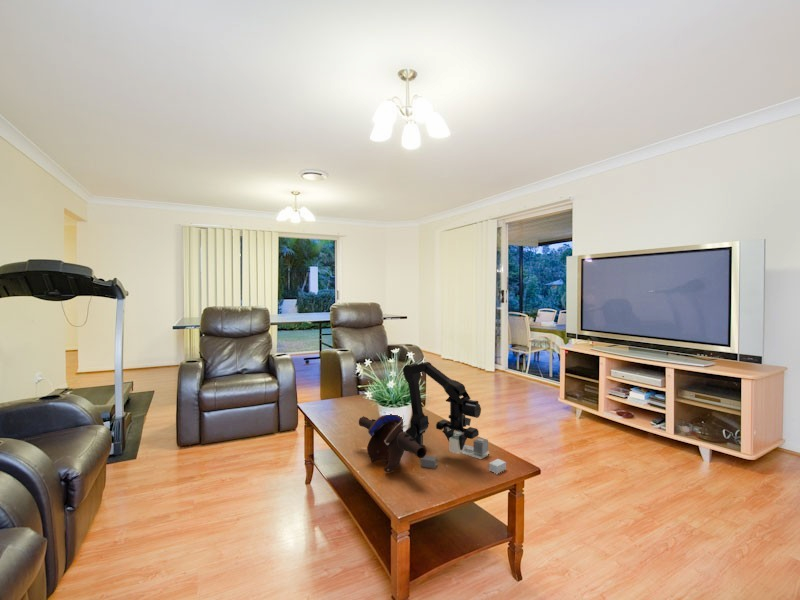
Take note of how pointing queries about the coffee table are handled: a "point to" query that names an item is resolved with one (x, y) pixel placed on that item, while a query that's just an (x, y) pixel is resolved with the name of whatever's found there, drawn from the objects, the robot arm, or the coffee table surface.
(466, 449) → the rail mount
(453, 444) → the block
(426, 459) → the block
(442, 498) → the coffee table surface
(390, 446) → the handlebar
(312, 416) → the coffee table surface
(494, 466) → the terminal block
